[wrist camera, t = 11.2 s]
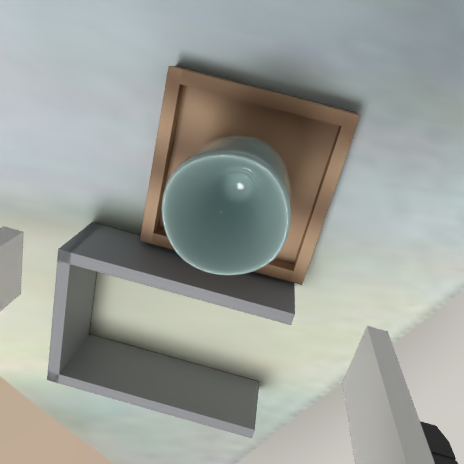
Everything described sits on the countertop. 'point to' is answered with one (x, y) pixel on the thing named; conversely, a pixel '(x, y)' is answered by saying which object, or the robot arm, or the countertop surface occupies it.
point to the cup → (229, 206)
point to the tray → (264, 128)
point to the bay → (143, 361)
